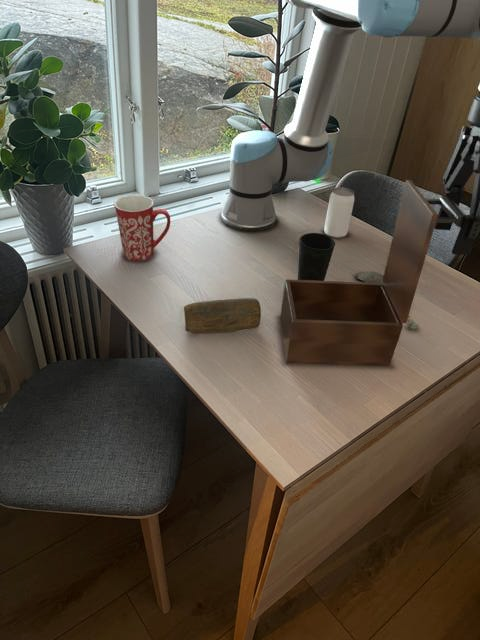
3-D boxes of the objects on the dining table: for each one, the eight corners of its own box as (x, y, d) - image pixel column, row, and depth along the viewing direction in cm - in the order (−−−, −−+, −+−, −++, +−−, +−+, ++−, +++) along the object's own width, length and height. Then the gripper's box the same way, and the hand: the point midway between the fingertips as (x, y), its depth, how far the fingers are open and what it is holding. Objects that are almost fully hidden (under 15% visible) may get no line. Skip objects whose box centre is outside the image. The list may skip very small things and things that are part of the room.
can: (323, 226, 135) (330, 185, 127) (346, 228, 134) (355, 188, 127) (323, 236, 130) (331, 195, 122) (347, 239, 129) (356, 197, 122)
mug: (116, 263, 113) (110, 210, 105) (122, 244, 120) (117, 193, 112) (169, 264, 114) (167, 212, 106) (173, 246, 121) (171, 195, 113)
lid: (432, 214, 71) (481, 214, 71) (406, 179, 81) (448, 180, 82) (401, 323, 83) (443, 323, 83) (382, 281, 94) (418, 281, 94)
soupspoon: (376, 275, 116) (351, 279, 115) (378, 263, 114) (353, 267, 113) (427, 327, 99) (399, 333, 98) (431, 314, 97) (402, 319, 96)
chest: (286, 363, 89) (292, 321, 83) (279, 318, 99) (285, 279, 93) (389, 366, 89) (403, 325, 83) (372, 321, 100) (383, 283, 94)
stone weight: (252, 314, 100) (255, 287, 96) (261, 335, 95) (264, 308, 91) (181, 321, 97) (181, 294, 93) (186, 343, 91) (186, 315, 87)
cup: (324, 299, 106) (334, 252, 99) (290, 294, 107) (297, 246, 99) (326, 281, 112) (335, 235, 105) (294, 276, 113) (301, 230, 105)
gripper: (451, 79, 75) (410, 212, 89) (512, 115, 59) (451, 272, 73) (497, 82, 76) (450, 214, 89) (571, 119, 59) (499, 274, 73)
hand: (450, 240), depth 81 cm, fingers closed on lid, 8 cm apart
